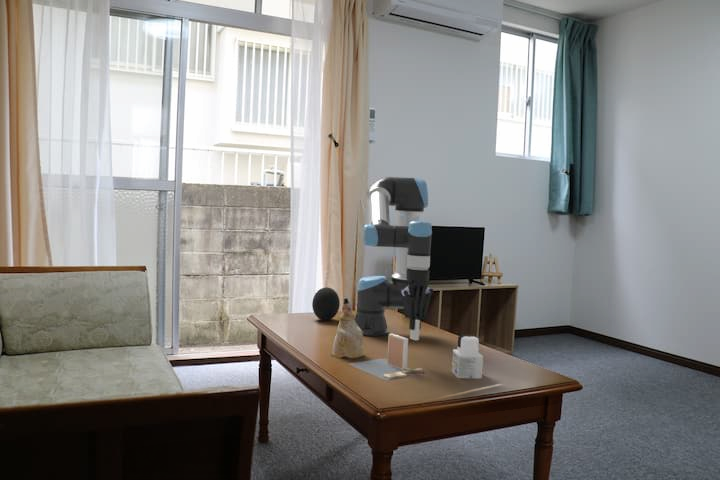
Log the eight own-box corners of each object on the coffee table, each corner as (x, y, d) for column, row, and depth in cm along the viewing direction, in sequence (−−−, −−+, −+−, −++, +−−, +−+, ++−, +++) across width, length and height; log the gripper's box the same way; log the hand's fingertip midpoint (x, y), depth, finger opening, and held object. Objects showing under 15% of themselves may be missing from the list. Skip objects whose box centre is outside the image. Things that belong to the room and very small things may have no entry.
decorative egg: (327, 316, 264) (328, 284, 263) (344, 321, 255) (346, 288, 254) (306, 319, 256) (307, 286, 255) (323, 324, 246) (324, 290, 246)
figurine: (340, 361, 188) (343, 302, 187) (325, 353, 197) (328, 297, 196) (369, 358, 194) (372, 300, 193) (354, 350, 203) (356, 295, 202)
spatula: (418, 370, 180) (418, 367, 180) (425, 372, 177) (425, 369, 177) (382, 376, 171) (382, 373, 171) (388, 379, 169) (389, 376, 168)
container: (451, 372, 181) (453, 332, 180) (474, 373, 182) (477, 333, 181) (457, 379, 173) (460, 338, 173) (482, 380, 174) (484, 338, 173)
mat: (383, 360, 192) (383, 358, 192) (423, 375, 176) (423, 373, 176) (347, 365, 183) (347, 363, 183) (385, 382, 167) (386, 380, 167)
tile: (390, 363, 186) (392, 333, 186) (406, 369, 180) (408, 338, 179) (386, 363, 185) (388, 333, 185) (402, 370, 179) (404, 339, 178)
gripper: (424, 266, 192) (421, 335, 193) (395, 267, 184) (391, 338, 185) (440, 269, 186) (436, 339, 187) (410, 270, 178) (406, 343, 179)
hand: (414, 339), depth 186 cm, fingers closed
